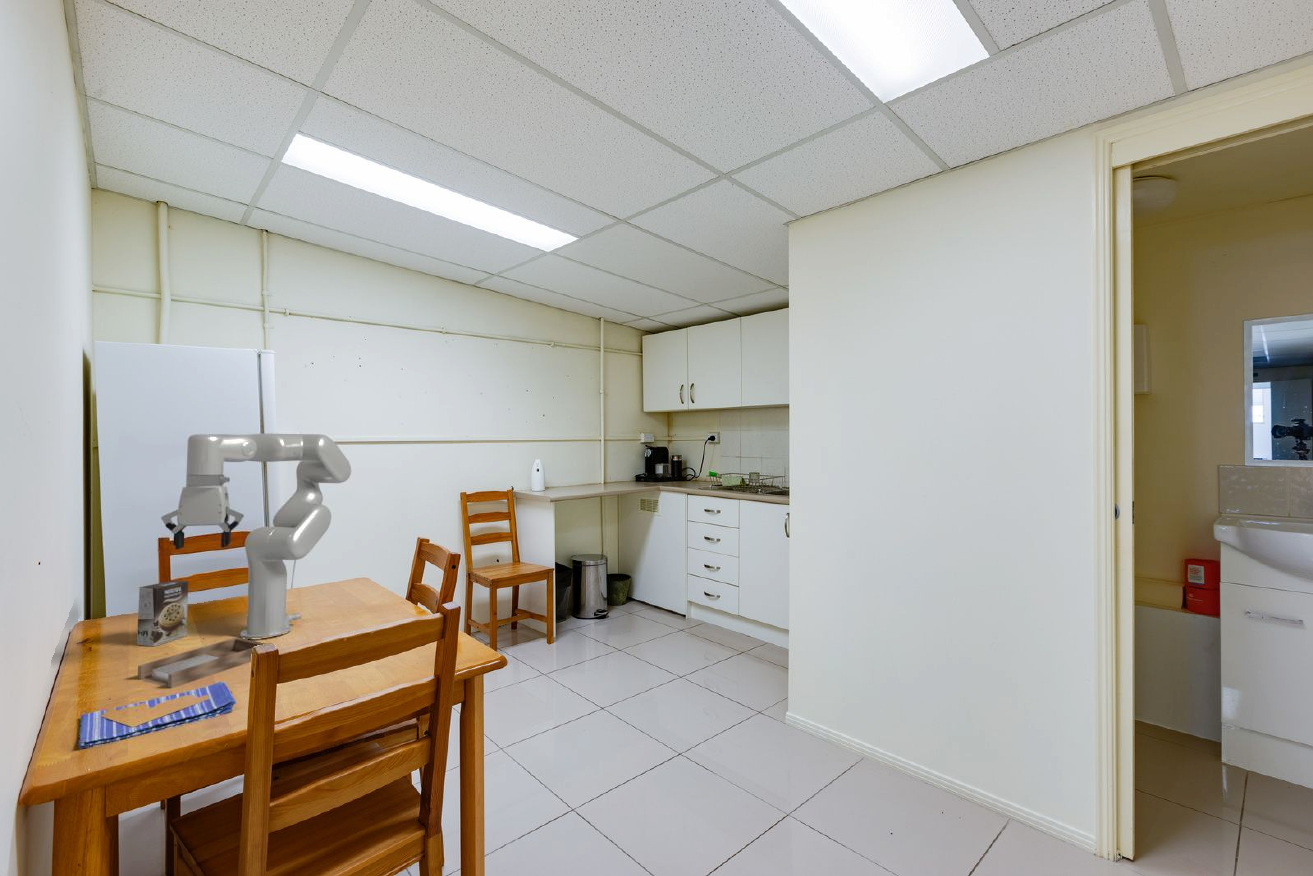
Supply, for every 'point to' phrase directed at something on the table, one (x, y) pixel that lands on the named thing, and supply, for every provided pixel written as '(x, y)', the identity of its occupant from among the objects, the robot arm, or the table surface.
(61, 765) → the table surface
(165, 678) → the cover plate
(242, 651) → the walnut box
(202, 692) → the dish towel
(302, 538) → the robot arm
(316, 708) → the table surface
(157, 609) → the cookie box
